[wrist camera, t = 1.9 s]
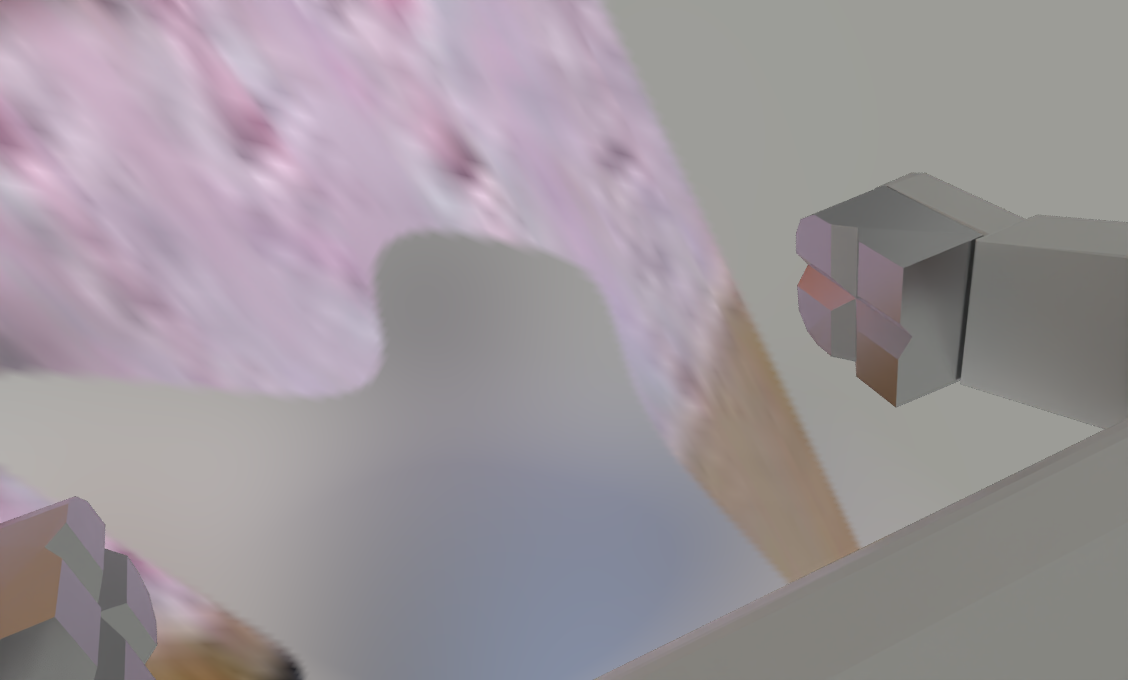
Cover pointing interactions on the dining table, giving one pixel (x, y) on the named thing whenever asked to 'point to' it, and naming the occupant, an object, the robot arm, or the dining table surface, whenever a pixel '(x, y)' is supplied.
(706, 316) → the dining table surface
